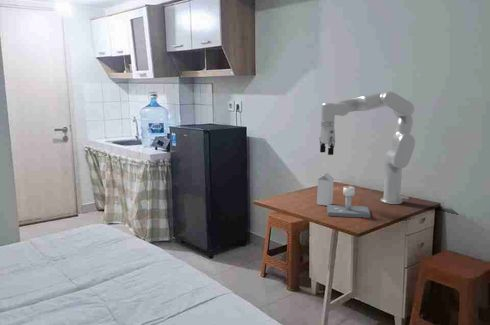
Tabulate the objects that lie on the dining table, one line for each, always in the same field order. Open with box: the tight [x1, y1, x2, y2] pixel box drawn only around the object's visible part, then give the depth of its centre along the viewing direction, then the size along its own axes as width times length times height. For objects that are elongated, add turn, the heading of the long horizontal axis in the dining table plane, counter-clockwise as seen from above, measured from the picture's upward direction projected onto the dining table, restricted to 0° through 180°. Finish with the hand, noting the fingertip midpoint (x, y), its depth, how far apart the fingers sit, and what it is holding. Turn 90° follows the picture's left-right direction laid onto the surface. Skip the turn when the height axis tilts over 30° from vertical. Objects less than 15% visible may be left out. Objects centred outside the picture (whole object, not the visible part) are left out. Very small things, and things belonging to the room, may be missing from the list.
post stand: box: [326, 195, 372, 219], centre depth 233 cm, size 22×15×10 cm
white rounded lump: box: [342, 185, 356, 197], centre depth 232 cm, size 6×6×5 cm
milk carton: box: [316, 171, 334, 207], centre depth 250 cm, size 7×7×19 cm
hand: (326, 153), depth 250 cm, fingers open, 9 cm apart
